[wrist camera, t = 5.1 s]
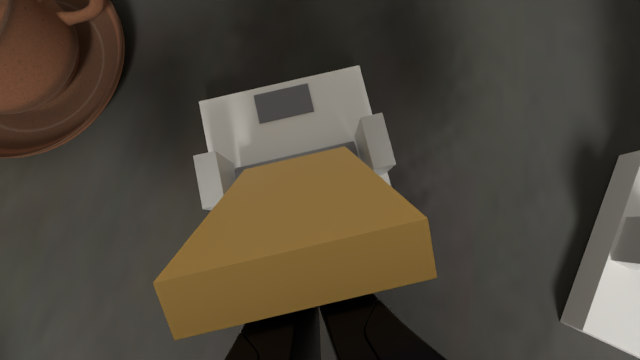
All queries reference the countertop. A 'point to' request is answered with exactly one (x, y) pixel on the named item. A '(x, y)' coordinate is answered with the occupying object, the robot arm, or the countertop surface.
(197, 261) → the amber lever
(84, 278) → the countertop surface
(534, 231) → the countertop surface
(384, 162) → the switch plate
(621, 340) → the switch plate
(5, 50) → the cup and saucer
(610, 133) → the countertop surface
